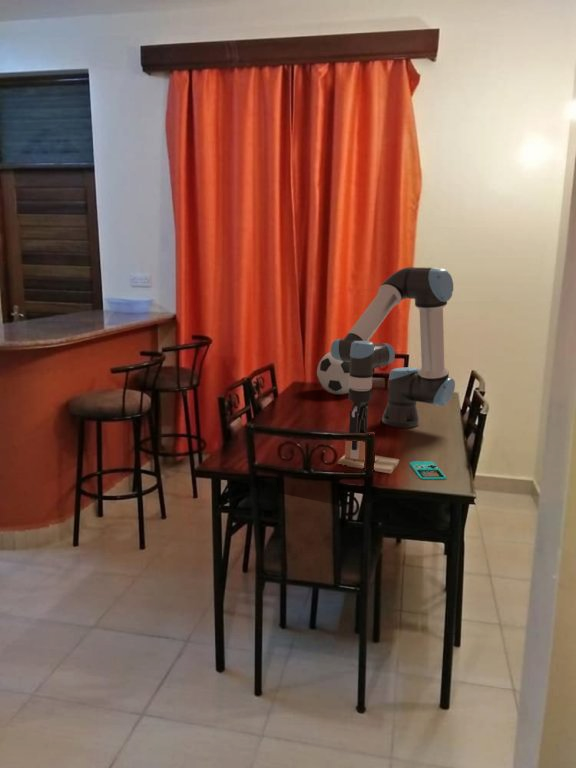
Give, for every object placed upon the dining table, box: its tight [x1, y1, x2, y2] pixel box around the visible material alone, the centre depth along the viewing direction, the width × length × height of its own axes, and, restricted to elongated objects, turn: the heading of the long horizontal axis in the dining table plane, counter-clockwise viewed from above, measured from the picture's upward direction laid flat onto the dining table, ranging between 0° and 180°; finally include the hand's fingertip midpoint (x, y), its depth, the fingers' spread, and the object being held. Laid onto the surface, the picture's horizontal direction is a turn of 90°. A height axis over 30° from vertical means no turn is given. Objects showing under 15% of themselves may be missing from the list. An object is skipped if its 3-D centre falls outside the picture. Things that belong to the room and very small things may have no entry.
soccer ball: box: [316, 351, 350, 395], centre depth 285 cm, size 22×22×22 cm
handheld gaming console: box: [409, 460, 447, 481], centre depth 187 cm, size 8×1×15 cm
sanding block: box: [344, 440, 365, 462], centre depth 193 cm, size 5×7×8 cm
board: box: [337, 454, 400, 475], centre depth 192 cm, size 11×18×1 cm, turn 65°
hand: (357, 455), depth 194 cm, fingers closed on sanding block, 5 cm apart
